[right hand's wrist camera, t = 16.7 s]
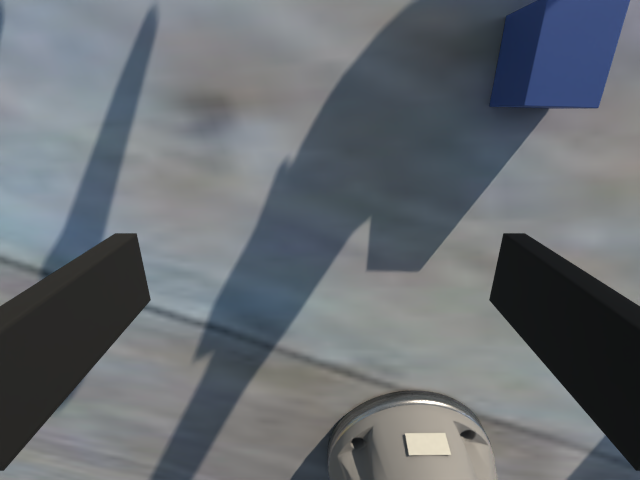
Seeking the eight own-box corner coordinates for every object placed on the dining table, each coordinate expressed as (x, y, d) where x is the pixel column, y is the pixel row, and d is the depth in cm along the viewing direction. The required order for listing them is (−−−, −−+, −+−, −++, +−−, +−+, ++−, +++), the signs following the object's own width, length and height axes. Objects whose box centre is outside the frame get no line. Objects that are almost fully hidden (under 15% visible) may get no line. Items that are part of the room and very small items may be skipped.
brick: (573, 17, 21) (631, -3, 17) (551, 108, 23) (598, 108, 19) (506, 15, 21) (548, -6, 17) (488, 106, 22) (523, 106, 19)
